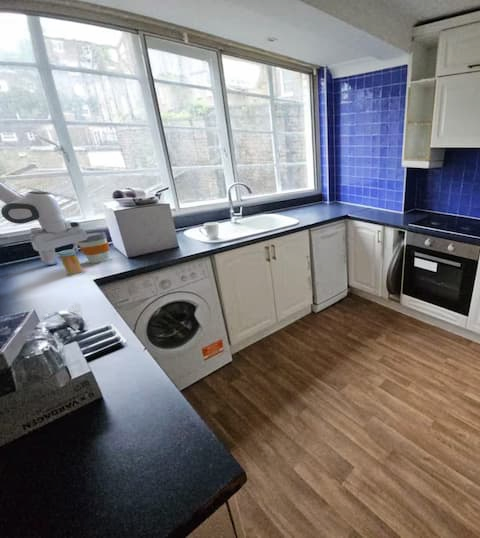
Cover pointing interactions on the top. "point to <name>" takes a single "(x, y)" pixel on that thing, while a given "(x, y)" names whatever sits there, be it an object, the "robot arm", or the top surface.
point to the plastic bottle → (46, 254)
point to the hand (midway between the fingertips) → (67, 254)
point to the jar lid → (67, 253)
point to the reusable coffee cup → (95, 247)
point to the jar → (71, 264)
